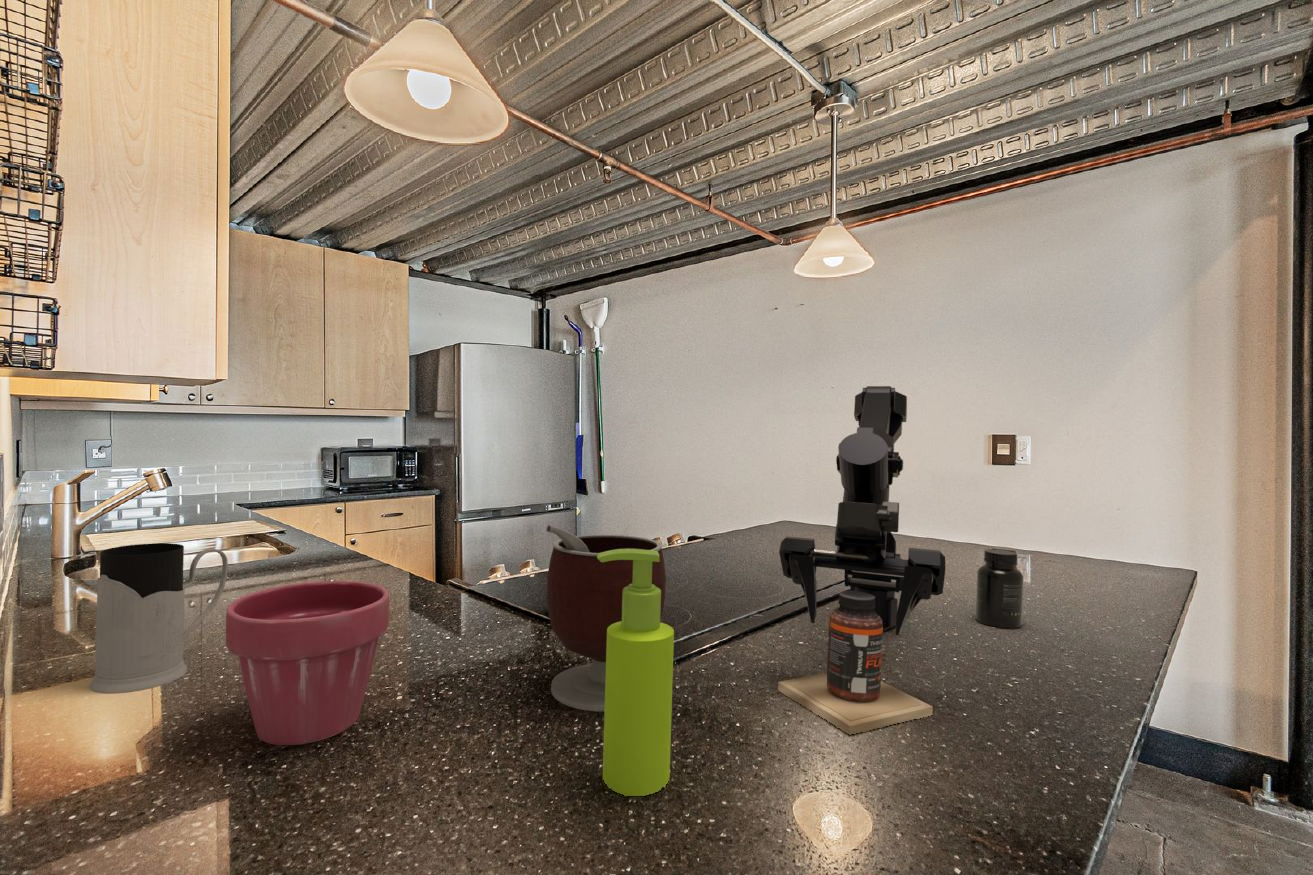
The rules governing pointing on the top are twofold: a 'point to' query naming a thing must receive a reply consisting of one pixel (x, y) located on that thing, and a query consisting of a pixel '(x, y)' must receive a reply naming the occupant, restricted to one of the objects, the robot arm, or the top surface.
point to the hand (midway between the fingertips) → (853, 627)
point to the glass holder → (143, 616)
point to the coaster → (854, 705)
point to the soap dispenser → (638, 685)
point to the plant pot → (306, 655)
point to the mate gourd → (590, 606)
